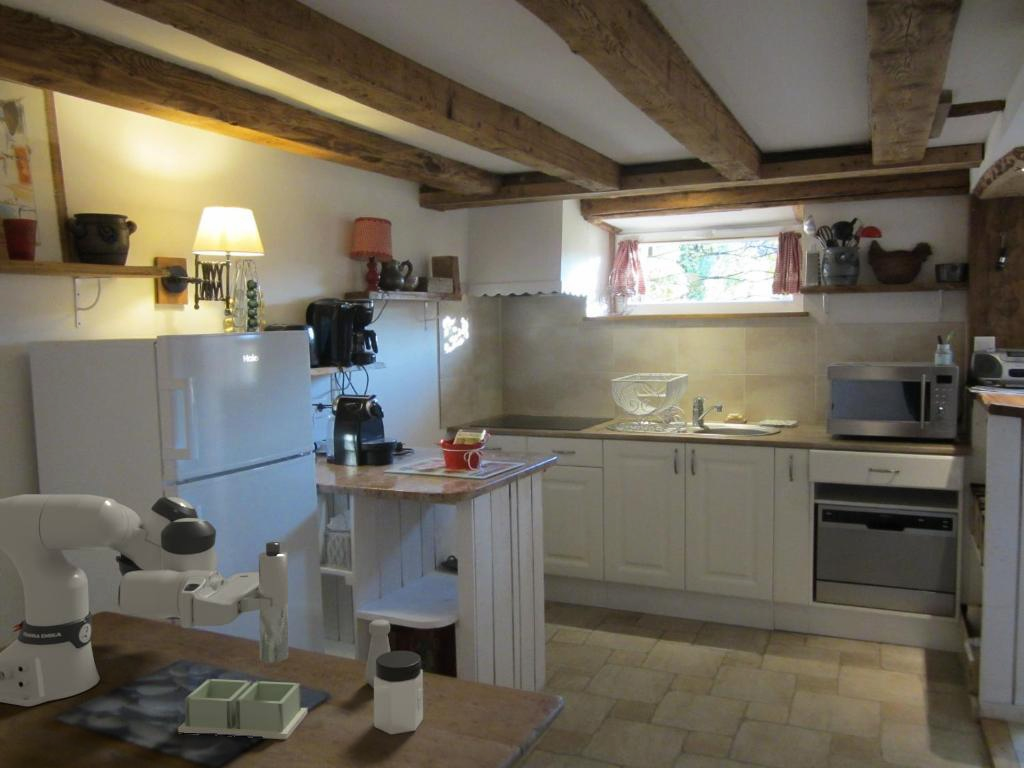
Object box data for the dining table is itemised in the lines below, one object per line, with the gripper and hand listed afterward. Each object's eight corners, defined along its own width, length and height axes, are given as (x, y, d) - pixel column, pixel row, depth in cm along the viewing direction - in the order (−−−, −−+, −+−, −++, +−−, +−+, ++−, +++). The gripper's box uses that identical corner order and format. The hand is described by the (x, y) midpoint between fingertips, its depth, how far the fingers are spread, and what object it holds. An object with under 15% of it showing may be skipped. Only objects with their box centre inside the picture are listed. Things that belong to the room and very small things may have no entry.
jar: (413, 737, 141) (412, 670, 141) (368, 733, 143) (368, 666, 142) (427, 714, 150) (427, 651, 149) (386, 710, 151) (385, 648, 151)
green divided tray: (178, 733, 143) (177, 700, 142) (205, 708, 152) (205, 677, 152) (286, 739, 140) (286, 705, 140) (307, 713, 150) (307, 681, 150)
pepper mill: (255, 661, 144) (253, 546, 143) (266, 651, 149) (265, 539, 148) (282, 663, 144) (281, 547, 143) (292, 652, 149) (291, 540, 148)
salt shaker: (388, 691, 160) (387, 627, 159) (361, 689, 161) (360, 625, 160) (398, 679, 165) (397, 617, 165) (371, 677, 167) (371, 615, 166)
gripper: (230, 594, 158) (298, 597, 157) (177, 631, 138) (255, 634, 136) (230, 563, 158) (298, 565, 156) (176, 595, 137) (254, 598, 136)
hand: (277, 597), depth 146 cm, fingers closed on pepper mill, 5 cm apart
